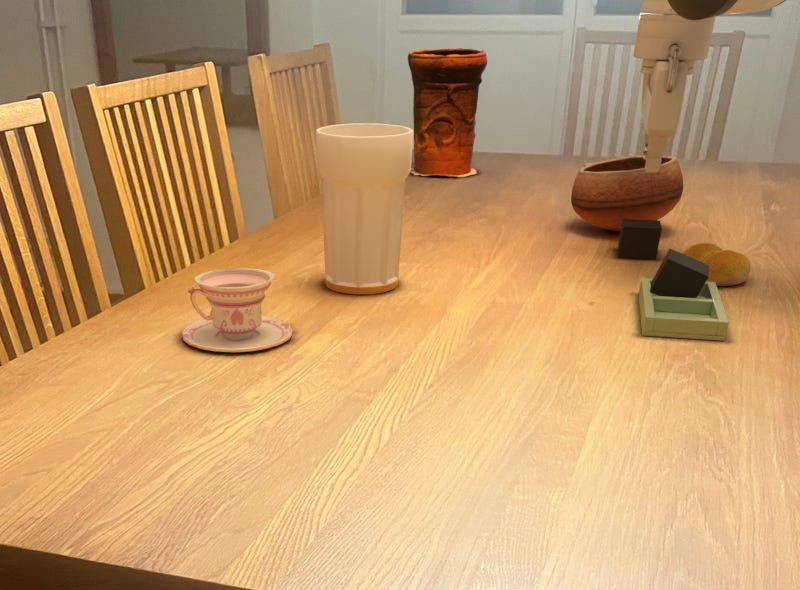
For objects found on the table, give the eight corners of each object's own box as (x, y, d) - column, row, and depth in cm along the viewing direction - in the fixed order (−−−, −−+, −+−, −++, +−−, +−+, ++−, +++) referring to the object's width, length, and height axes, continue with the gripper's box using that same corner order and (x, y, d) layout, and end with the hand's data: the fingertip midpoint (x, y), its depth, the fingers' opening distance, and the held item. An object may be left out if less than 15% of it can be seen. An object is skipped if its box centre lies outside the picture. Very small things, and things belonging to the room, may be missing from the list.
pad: (690, 297, 114) (709, 265, 111) (689, 309, 110) (708, 276, 107) (651, 280, 114) (669, 247, 111) (649, 291, 110) (667, 258, 108)
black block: (654, 251, 134) (660, 220, 132) (655, 259, 130) (661, 228, 128) (617, 249, 135) (622, 218, 133) (617, 257, 131) (623, 226, 129)
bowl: (570, 215, 153) (580, 145, 147) (673, 221, 149) (687, 149, 143) (563, 238, 140) (573, 162, 135) (675, 244, 137) (690, 167, 131)
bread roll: (721, 291, 117) (728, 257, 115) (662, 275, 123) (668, 243, 121) (762, 280, 121) (771, 247, 119) (703, 265, 127) (710, 233, 125)
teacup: (274, 315, 111) (273, 259, 107) (307, 347, 101) (306, 287, 98) (172, 326, 108) (166, 269, 104) (195, 360, 98) (190, 298, 95)
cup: (420, 279, 123) (429, 126, 113) (382, 302, 115) (387, 139, 105) (342, 268, 127) (344, 120, 117) (300, 289, 119) (297, 132, 109)
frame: (711, 298, 115) (715, 281, 114) (724, 341, 102) (729, 322, 101) (638, 294, 117) (641, 277, 115) (642, 335, 104) (645, 316, 103)
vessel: (400, 178, 179) (405, 53, 168) (405, 165, 191) (410, 47, 179) (478, 179, 178) (488, 53, 166) (478, 166, 189) (488, 47, 178)
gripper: (706, 48, 109) (679, 181, 117) (693, 36, 125) (670, 153, 133) (649, 47, 110) (626, 179, 118) (643, 35, 126) (623, 151, 135)
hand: (649, 165), depth 126 cm, fingers open, 8 cm apart
